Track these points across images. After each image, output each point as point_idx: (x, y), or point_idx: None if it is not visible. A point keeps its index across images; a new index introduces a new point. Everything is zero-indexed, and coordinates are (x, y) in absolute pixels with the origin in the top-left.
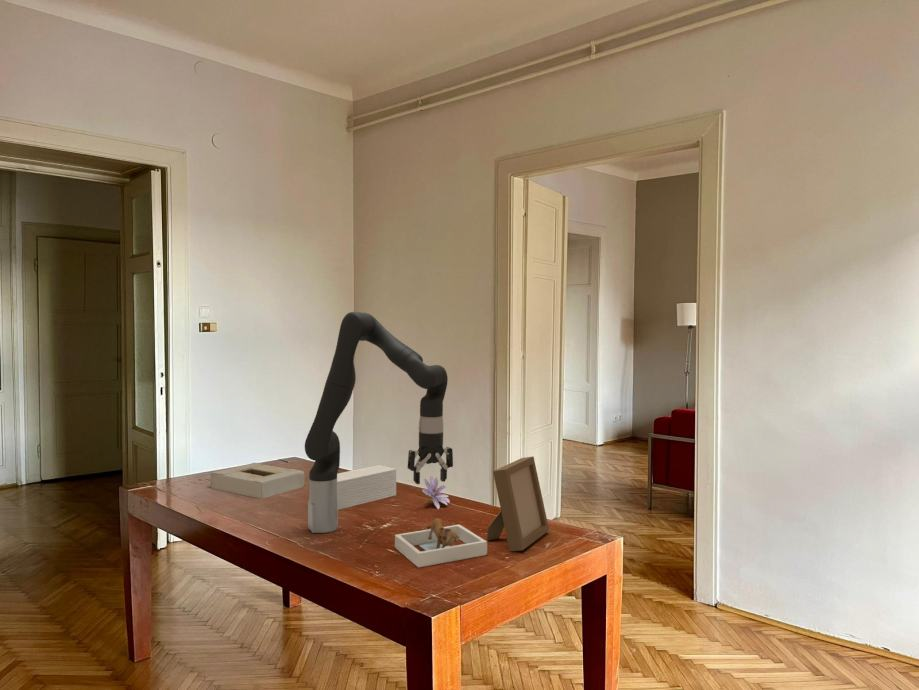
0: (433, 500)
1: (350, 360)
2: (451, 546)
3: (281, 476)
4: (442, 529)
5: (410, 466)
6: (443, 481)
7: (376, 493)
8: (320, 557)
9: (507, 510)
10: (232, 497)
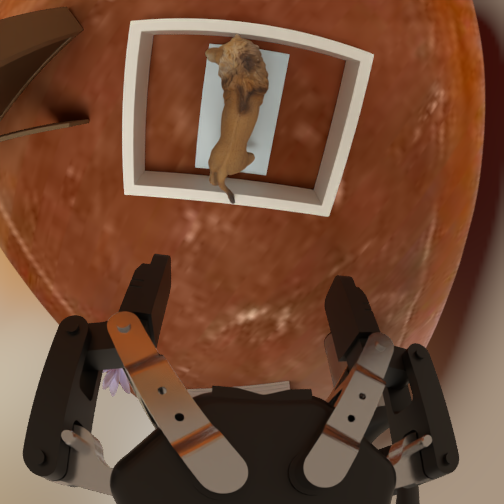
0: None
1: None
2: (255, 33)
3: None
4: (252, 90)
5: (432, 369)
6: (166, 255)
7: None
8: (441, 237)
9: (13, 33)
10: None
